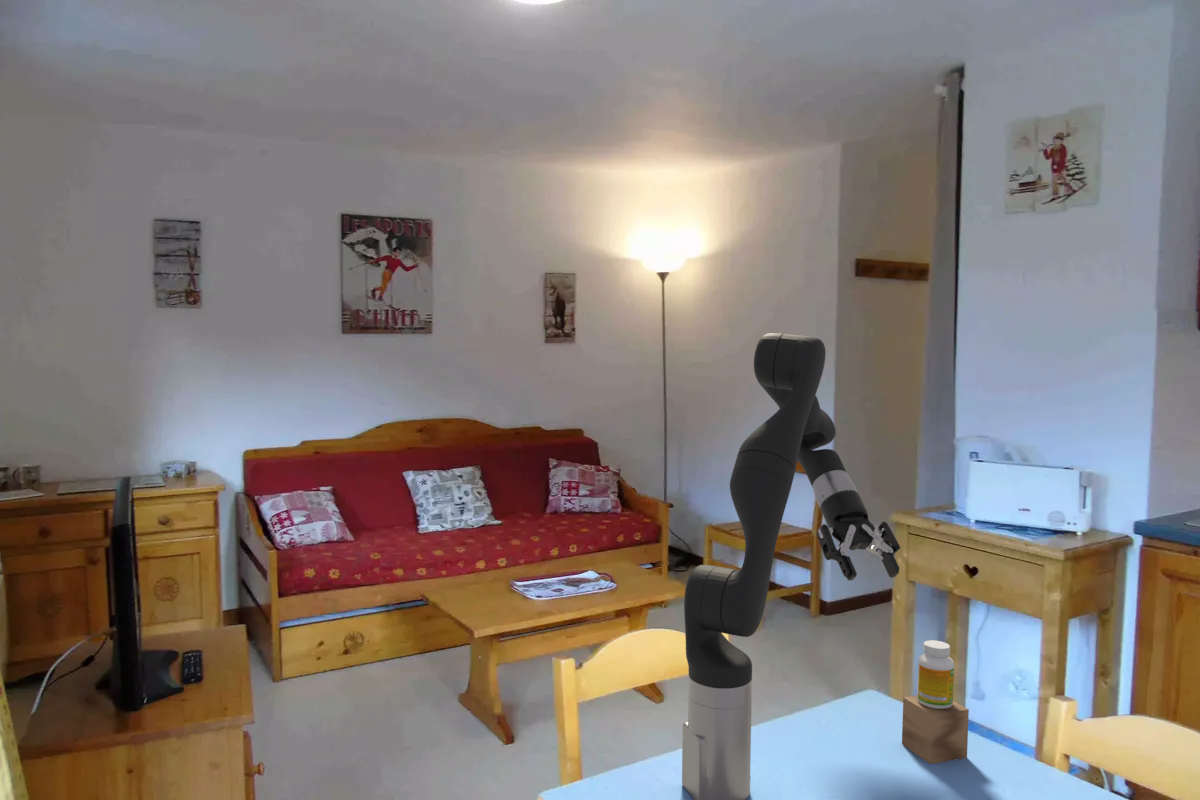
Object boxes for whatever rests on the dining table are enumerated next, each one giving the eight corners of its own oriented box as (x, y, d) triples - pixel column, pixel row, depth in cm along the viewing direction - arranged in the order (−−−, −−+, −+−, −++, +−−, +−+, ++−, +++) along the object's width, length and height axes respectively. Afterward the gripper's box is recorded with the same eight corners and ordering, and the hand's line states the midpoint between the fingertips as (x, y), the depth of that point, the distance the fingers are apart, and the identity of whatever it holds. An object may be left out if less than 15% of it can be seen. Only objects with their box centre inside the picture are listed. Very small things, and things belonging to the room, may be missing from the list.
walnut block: (930, 764, 133) (932, 715, 132) (901, 744, 139) (903, 697, 139) (966, 758, 135) (968, 709, 134) (937, 738, 141) (938, 692, 141)
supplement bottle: (955, 711, 133) (958, 651, 133) (919, 708, 135) (921, 648, 134) (949, 697, 139) (951, 640, 138) (914, 694, 140) (916, 637, 139)
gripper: (813, 489, 152) (848, 567, 142) (880, 487, 156) (919, 563, 146) (797, 513, 158) (829, 590, 147) (863, 510, 162) (898, 585, 151)
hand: (874, 576), depth 147 cm, fingers open, 8 cm apart
